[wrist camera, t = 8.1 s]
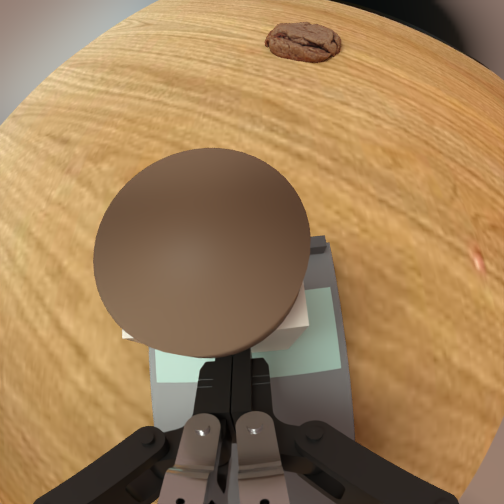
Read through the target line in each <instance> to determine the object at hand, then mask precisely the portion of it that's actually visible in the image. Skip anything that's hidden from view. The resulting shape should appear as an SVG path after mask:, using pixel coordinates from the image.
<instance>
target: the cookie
mask: <svg viewBox="0 0 504 504" xmlns="http://www.w3.org/2000/svg"><path fill="white" fill-rule="evenodd" d="M340 45H341V39H340V37H339V36H338V34H337V33H335V32H334V31H333V30H331V29H329V28H326V27H324V26H321V25H318V24H314V25H311V24H310V23H309V22H300V23H280V24H278V25H277V26H276V27H275V28H274V30H272V31H270V32H269V34H268V36H267V37H266V40H265V46H266V47H269V48H270V50H271V52H272V53H273V54H275V55H277V56H279V57H281V58H287V59H292V60H296V61H303V62H312V63H313V62H316V63H318V62H322V61H324V60H326V59H327V58H329V57H330V56H332V57H334V56H335V54H338V53H339V52H340V49H339V48H340Z"/></svg>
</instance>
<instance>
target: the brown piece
mask: <svg viewBox="0 0 504 504" xmlns="http://www.w3.org/2000/svg"><path fill="white" fill-rule="evenodd" d="M310 243H311V237H310V228H309V222H308V218H307V215H306V211H305V209H304V206H303V204H302V202H301V199H300V198H299V196H298V194H297V193H296V191H295V190H294V188H293V187H292V186H291V184H290V183H289V182H288V181H287V180H286V178H285V177H284V176H282V175H281V174H280V173H279V172H278V171H277V170H276V169H274V168H273V167H271V166H270V165H269V164H267V163H266V162H264V161H262V160H260V159H258V158H256V157H254V156H251V155H248V154H246V153H243V152H239V151H235V150H230V149H221V148H202V149H193V150H188V151H183V152H180V153H177V154H173V155H170V156H168V157H166V158H163V159H161V160H159V161H157V162H155V163H153V164H152V165H150V166H148V167H147V168H145V169H144V170H142V171H141V172H139V173H138V174H137V175H136V176H134V177H133V178H132V179H131V180H130V181H129V182H128V183H127V184H126V185H125V186H124V187H123V188H122V189H121V190H120V191H119V193H118V194H117V195H116V197H115V198H114V199H113V201H112V202H111V204H110V205H109V207H108V209H107V211H106V212H105V214H104V217H103V219H102V221H101V223H100V226H99V229H98V233H97V236H96V241H95V246H94V258H93V264H94V276H95V280H96V285H97V289H98V292H99V294H100V297H101V300H102V302H103V303H104V305H105V307H106V309H107V311H108V312H109V314H110V315H111V316H112V318H113V319H114V320H115V322H116V323H117V324H118V325H119V326H120V327H121V328H122V338H123V339H127V340H131V341H135V342H139V343H143V344H145V345H147V346H149V347H151V348H154V349H156V350H159V351H162V352H166V353H171V354H177V355H182V356H188V357H194V358H219V357H226V356H230V355H234V354H237V353H240V352H242V351H245V350H247V349H249V348H251V353H257V352H267V351H277V350H286V349H289V348H290V346H291V345H292V344H293V343H294V342H295V341H296V340H297V339H298V338H299V337H300V335H301V334H302V333H303V332H304V331H305V330H306V329H307V328H308V326H309V320H308V312H307V304H306V297H305V290H304V283H303V279H304V276H305V273H306V270H307V267H308V262H309V256H310Z"/></svg>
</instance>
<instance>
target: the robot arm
mask: <svg viewBox="0 0 504 504" xmlns="http://www.w3.org/2000/svg"><path fill="white" fill-rule="evenodd" d="M234 443H237V451H238V463H239V472H238V486H239V497H240V504H290V502H289V497H288V492H287V487H286V481H285V476H284V471H287V472H293V473H297V475H298V476H299V477H301V478H302V479H303V480H305V481H306V482H307V483H308V484H310V485H311V486H312V487H314V488H315V489H316V490H318V491H319V492H321V493H322V494H323V495H325V496H326V497H327V498H329V499H330V500H332V501H333V502H335V503H336V504H459V503H458V500H457V498H456V497H455V496H454V495H452V494H450V493H448V492H446V491H444V490H442V489H440V488H438V487H436V486H434V485H432V484H430V483H428V482H426V481H424V480H422V479H420V478H418V477H416V476H414V475H412V474H411V473H409V472H407V471H405V470H403V469H401V468H400V467H398V466H396V465H394V464H392V463H391V462H389V461H387V460H385V459H384V458H382V457H380V456H379V455H377V454H375V453H373V452H372V451H370V450H368V449H367V448H365V447H363V446H362V445H360V444H359V443H357V442H355V441H354V440H352V439H351V438H349V437H347V436H346V435H344V434H343V433H341V432H340V431H338V430H337V429H335V428H333V427H332V426H330V425H329V424H327V423H326V422H323V421H319V420H312V421H308V422H305V423H303V424H302V425H300V426H296V425H289V424H285V423H283V422H281V421H280V420H278V419H277V418H276V417H275V415H274V413H273V405H272V393H271V382H270V372H269V365H268V363H267V362H266V361H265V359H264V358H252V353H251V348H249V349H247V350H245V351H242V352H240V353H237V354H234V355H230V356H226V357H219V358H215V361H207V362H205V363H204V365H203V366H202V367H201V369H200V371H199V378H198V384H197V390H196V397H195V403H194V410H193V415H192V417H191V418H190V419H188V420H187V422H186V423H185V426H183V427H181V428H179V429H175V430H171V431H167V432H162V431H161V430H160V429H159V428H157V427H154V426H146V427H142V428H140V429H138V430H137V431H135V432H134V433H133V434H131V435H130V436H129V437H127V438H126V439H125V440H123V441H122V442H121V443H119V444H118V445H117V446H115V447H114V448H112V449H111V450H110V451H108V452H107V453H105V454H104V455H103V456H101V457H100V458H98V459H97V460H96V461H94V462H93V463H91V464H90V465H88V466H87V467H86V468H84V469H83V470H81V471H80V472H78V473H77V474H75V475H74V476H72V477H71V478H69V479H68V480H66V481H65V482H63V483H62V484H60V485H59V486H57V487H56V488H54V489H52V490H51V491H49V492H48V493H46V494H44V495H43V496H41V497H40V498H38V499H37V500H36V501H35V502H34V503H33V504H151V503H152V502H154V501H155V500H156V499H157V498H159V500H158V504H228V488H229V480H230V472H231V463H232V456H231V453H232V444H234Z"/></svg>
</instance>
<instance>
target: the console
mask: <svg viewBox="0 0 504 504" xmlns="http://www.w3.org/2000/svg"><path fill="white" fill-rule="evenodd" d="M303 283H304V290H305V297H306V304H307V312H308V320H309V326H308V328H307V329H306V330H305V331H304V332H303V333H302V334H301V335H300V337H299V338H298V339H297V340H296V341H295V342H294V343H293V344H292V345H291V346H290V348H289V349H286V350H277V351H267V352H257V353H252V358H264V359H265V361H266V362H267V363H268V365H269V372H270V382H271V393H272V405H273V413H274V415H275V417H276V418H277V419H278V420H280V421H281V422H283V423H285V424H289V425H296V426H300V425H302V424H303V423H305V422H308V421H312V420H319V421H323V422H326V423H327V424H329V425H330V426H332V427H333V428H335V429H337V430H338V431H340V432H341V433H343V434H344V435H346V436H347V437H349V438H351V439H352V440H354V441H355V432H354V418H353V406H352V394H351V384H350V375H349V366H348V357H347V349H346V341H345V334H344V327H343V320H342V313H341V307H340V300H339V294H338V288H337V282H336V276H335V271H334V265H333V260H332V254H331V249H330V244H329V243H326V239H325V235H324V236H314V237H311V243H310V256H309V262H308V267H307V270H306V273H305V276H304V279H303ZM207 361H215V358H194V357H188V356H182V355H177V354H171V353H166V352H162V351H159V350H156V349H154V348H151V347H149V364H150V382H151V396H152V408H153V419H154V427H157V428H159V429H160V430H161V431H162V432H167V431H171V430H175V429H179V428H181V427H183V426H185V423H186V422H187V420H188V419H190V418H191V417H192V415H193V410H194V403H195V397H196V390H197V384H198V378H199V371H200V369H201V367H202V366H203V365H204V363H205V362H207ZM231 456H232V463H231V472H230V480H229V488H228V504H240V497H239V486H238V472H239V463H238V451H237V443H234V444H232V453H231ZM284 476H285V481H286V487H287V492H288V497H289V502H290V504H336V503H335V502H333V501H332V500H330V499H329V498H327V497H326V496H325V495H323V494H322V493H321V492H319V491H318V490H316V489H315V488H314V487H312V486H311V485H310V484H308V483H307V482H306V481H305V480H303V479H302V478H301V477H299V476H298V475H297V473H293V472H287V471H284Z"/></svg>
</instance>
